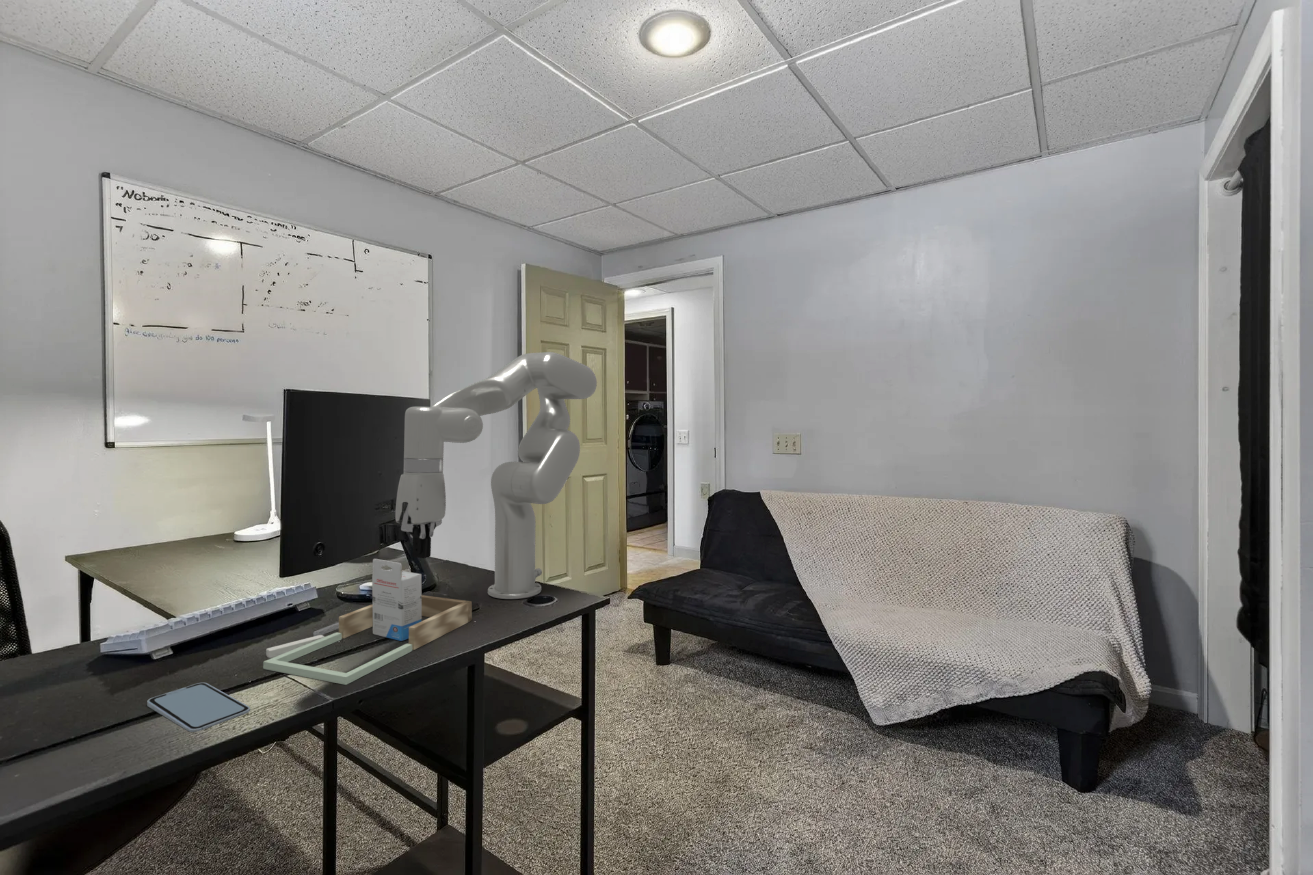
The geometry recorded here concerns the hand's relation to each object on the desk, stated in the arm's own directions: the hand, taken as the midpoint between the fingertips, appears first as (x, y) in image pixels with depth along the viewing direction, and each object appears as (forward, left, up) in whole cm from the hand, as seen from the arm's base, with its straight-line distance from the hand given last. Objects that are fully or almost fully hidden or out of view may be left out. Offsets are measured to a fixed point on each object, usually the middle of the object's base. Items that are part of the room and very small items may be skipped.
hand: (421, 556), depth 122 cm
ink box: (+7, 0, -14) cm, 15 cm away
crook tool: (+7, -11, -14) cm, 19 cm away
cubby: (+4, 0, -14) cm, 14 cm away
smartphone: (+40, -5, -14) cm, 43 cm away
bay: (+20, 0, -14) cm, 24 cm away
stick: (+19, -11, -14) cm, 26 cm away
